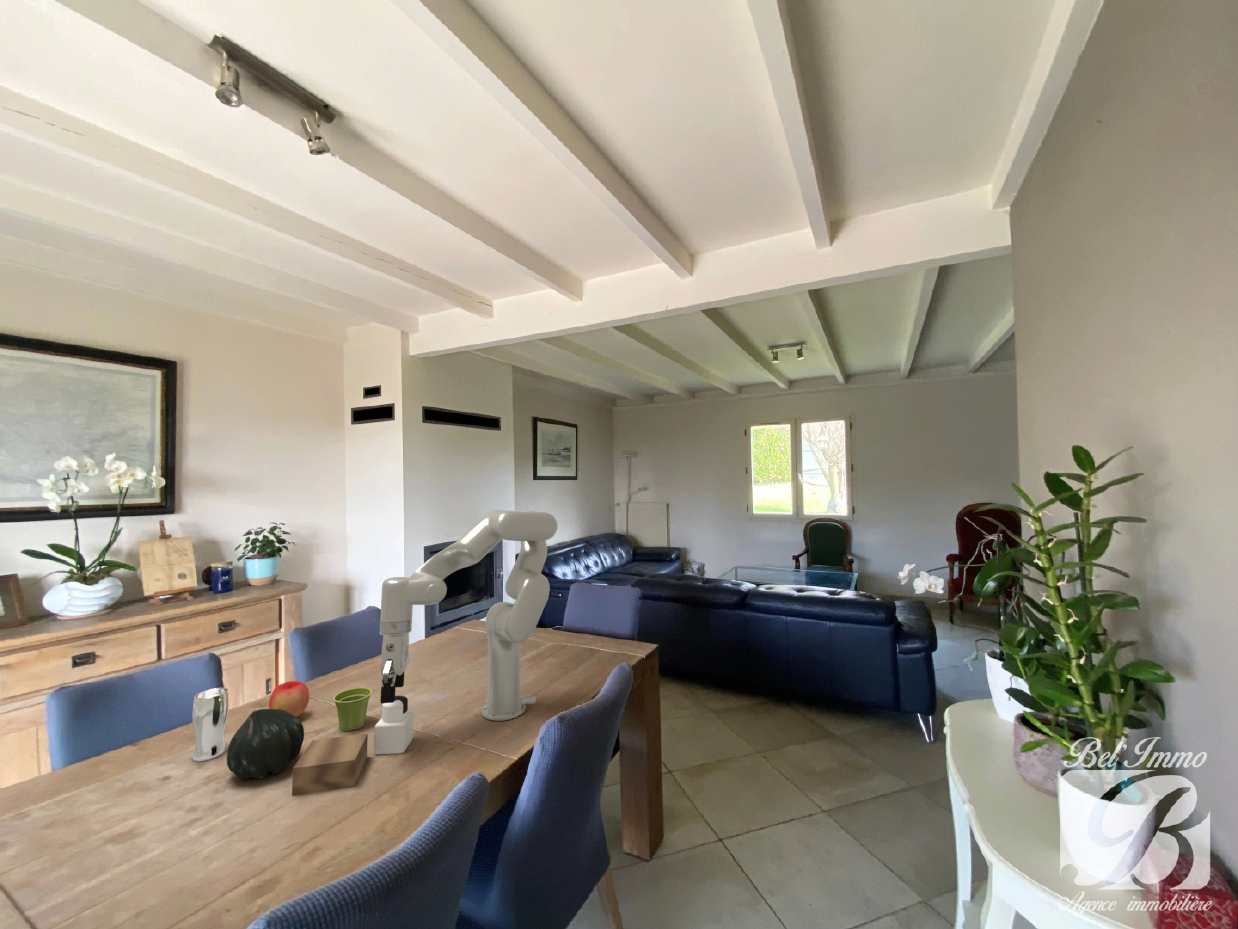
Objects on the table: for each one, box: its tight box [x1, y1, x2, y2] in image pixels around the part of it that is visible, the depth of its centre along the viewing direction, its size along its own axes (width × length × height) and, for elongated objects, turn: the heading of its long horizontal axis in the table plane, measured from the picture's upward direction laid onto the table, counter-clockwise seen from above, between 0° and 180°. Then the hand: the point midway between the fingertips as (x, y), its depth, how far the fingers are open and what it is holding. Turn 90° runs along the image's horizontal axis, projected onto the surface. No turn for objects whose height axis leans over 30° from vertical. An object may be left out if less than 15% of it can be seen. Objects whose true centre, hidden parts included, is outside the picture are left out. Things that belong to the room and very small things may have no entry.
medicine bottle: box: [373, 695, 414, 755], centre depth 123 cm, size 7×7×12 cm
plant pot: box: [332, 687, 373, 732], centre depth 133 cm, size 9×9×9 cm
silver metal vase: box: [191, 687, 230, 762], centre depth 119 cm, size 7×7×15 cm
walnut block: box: [291, 732, 369, 797], centre depth 110 cm, size 12×12×6 cm
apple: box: [268, 680, 310, 718], centre depth 137 cm, size 10×10×10 cm
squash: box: [226, 708, 305, 780], centre depth 113 cm, size 14×15×15 cm
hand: (392, 694), depth 123 cm, fingers open, 9 cm apart
